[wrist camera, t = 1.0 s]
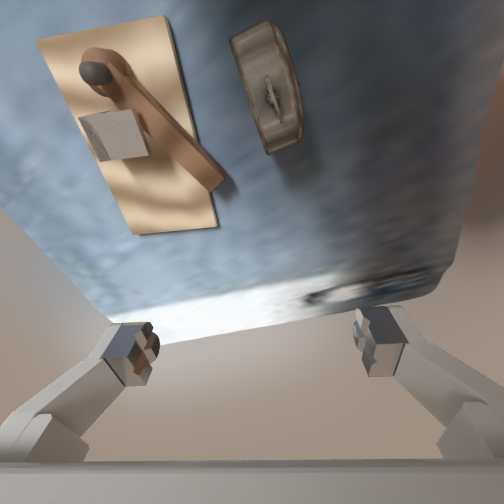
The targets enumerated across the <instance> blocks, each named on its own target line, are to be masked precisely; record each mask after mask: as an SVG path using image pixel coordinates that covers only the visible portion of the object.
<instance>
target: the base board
mask: <svg viewBox="0 0 504 504" xmlns="http://www.w3.org/2000/svg"><path fill="white" fill-rule="evenodd" d="M35 41H36V43H37V45H38V47H39V49H40V51H41V53H42V55H43V57H44V59H45V61H46V63H47V65H48V67H49V69H50V71H51V72H52V74H53V76H54V78H55V80H56V82H57V84H58V86H59V88H60V90H61V92H62V94H63V96H64V98H65V100H66V102H67V104H68V106H69V108H70V110H71V112H72V114H73V116H74V118H75V120H76V122H77V124H78V126H79V128H80V130H81V132H82V134H83V136H84V138H85V140H86V142H87V144H88V146H89V148H90V150H91V152H92V154H93V156H94V158H95V160H96V162H97V164H98V166H99V168H100V170H101V172H102V174H103V176H104V178H105V180H106V182H107V184H108V186H109V188H110V189H111V191H112V193H113V195H114V197H115V199H116V201H117V203H118V205H119V207H120V209H121V211H122V213H123V215H124V217H125V219H126V221H127V223H128V225H129V227H130V229H131V231H132V233H133V235H138V234H148V233H158V232H168V231H178V230H188V229H198V228H208V227H217V224H218V222H217V218H216V214H215V210H214V206H213V202H212V198H211V194H210V192H209V191H208V190H207V189H206V188H205V187H204V186H202V185H201V184H200V183H199V182H198V181H197V180H196V179H195V178H194V177H193V176H192V175H191V174H190V173H189V172H188V171H187V170H186V169H184V168H183V167H182V166H181V165H180V164H179V163H178V162H177V161H176V160H175V159H174V158H173V157H172V156H171V155H170V154H169V153H168V152H166V151H165V150H164V149H163V148H162V147H161V146H160V145H159V144H158V143H157V142H156V141H155V140H154V139H153V138H152V137H151V136H150V135H148V134H147V133H146V132H145V131H144V130H143V131H144V134H145V136H146V139H147V142H148V145H149V147H150V150H151V154H150V155H149V156H141V157H134V158H126V159H119V160H111V161H104V162H100V161H99V159H98V157H97V155H96V153H95V151H94V149H93V147H92V145H91V143H90V141H89V139H88V137H87V135H86V133H85V131H84V129H83V127H82V125H81V123H80V121H79V119H78V117H81V116H85V115H89V114H93V113H97V112H103V111H110V112H112V111H119V110H122V109H121V108H120V107H119V106H118V105H117V104H116V103H115V102H113V101H112V100H111V99H110V98H108V97H103V96H101V95H99V94H98V93H96V92H95V91H94V90H93V89H92V88H91V87H90V86H89V85H88V84H87V83H85V82H84V81H83V79H82V78H81V76H80V73H79V65H80V63H81V58H82V55H83V53H84V52H85V51H86V50H87V49H89V48H92V47H97V48H104V49H111V50H114V51H116V52H117V53H119V54H120V55H121V56H122V57H123V58H124V59H125V60H126V61H127V63H128V65H129V66H130V69H131V71H132V75H133V76H134V77H135V79H136V80H137V81H138V82H139V83H140V84H141V85H142V86H143V87H144V88H145V89H146V90H147V91H148V92H149V93H150V94H151V95H152V96H153V97H154V98H155V99H156V100H157V101H158V102H159V103H160V104H161V105H162V106H163V107H164V108H165V110H166V111H167V112H168V113H169V114H170V115H171V116H172V117H173V118H174V119H175V120H176V121H177V122H178V123H179V124H180V125H181V126H182V127H183V128H184V129H185V130H186V131H187V132H188V133H189V134H190V135H191V136H192V137H193V138H194V139H195V141H196V142H197V143H198V141H197V137H196V133H195V129H194V124H193V120H192V116H191V112H190V108H189V104H188V100H187V96H186V92H185V88H184V84H183V80H182V76H181V72H180V68H179V63H178V59H177V55H176V51H175V47H174V43H173V39H172V35H171V31H170V27H169V23H168V19H167V17H166V16H164V15H162V16H157V17H152V18H147V19H142V20H136V21H131V22H126V23H121V24H116V25H110V26H105V27H100V28H95V29H89V30H84V31H79V32H74V33H69V34H63V35H58V36H53V37H48V38H43V39H37V40H35Z"/></svg>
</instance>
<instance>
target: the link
mask: <svg viewBox="0 0 504 504" xmlns="http://www.w3.org/2000/svg"><path fill="white" fill-rule="evenodd" d="M79 73H80V76H81V78H82V79H83V81H84V82H85V83H87V84H88V85H89V86H90V87H91V88H92V89H93V90H94V91H95V92H96V93H98V94H99V95H101V96H103V97H108V98H110V99H111V100H112V101H113V102H115V103H116V104H117V105H118V106H119V107H120V108H121V109H122V110H125V109H132V108H135V109H136V112H137V114H138V117H139V120H140V123H141V125H142V128H143V130H144V131H145V132H146V133H147V134H148V135H150V136H151V137H152V138H153V139H154V140H155V141H156V142H157V143H158V144H159V145H160V146H161V147H162V148H163V149H164V150H165V151H166V152H168V153H169V154H170V155H171V156H172V157H173V158H174V159H175V160H176V161H177V162H178V163H179V164H180V165H181V166H182V167H183V168H184V169H186V170H187V171H188V172H189V173H190V174H191V175H192V176H193V177H194V178H195V179H196V180H197V181H198V182H199V183H200V184H201V185H202V186H204V187H205V188H206V189H207V190H208V191H209V192H211V191H212V190H213V189H214V188H216V187H217V186H218V185H219V184H220V183H221V182H222V181H223V180H224V179H225V176H226V172H225V170H224V169H223V168H222V167H221V166H220V165H219V164H218V163H217V162H216V161H215V160H214V159H213V158H212V157H211V156H210V155H209V154H208V153H207V152H206V151H205V150H204V149H203V148H202V147H201V146H200V145H199V144H198V143H197V142H196V141H195V139H194V138H193V137H192V136H191V135H190V134H189V133H188V132H187V131H186V130H185V129H184V128H183V127H182V126H181V125H180V124H179V123H178V122H177V121H176V120H175V119H174V118H173V117H172V116H171V115H170V114H169V113H168V112H167V111H166V110H165V108H164V107H163V106H162V105H161V104H160V103H159V102H158V101H157V100H156V99H155V98H154V97H153V96H152V95H151V94H150V93H149V92H148V91H147V90H146V89H145V88H144V87H143V86H142V85H141V84H140V83H139V82H138V81H137V80H136V79H135V77H134V76H133V75H132V71H131V69H130V66H129V65H128V63H127V61H126V60H125V59H124V58H123V57H122V56H121V55H120V54H119V53H117V52H116V51H114V50H111V49H104V48H97V47H92V48H89V49H87V50H86V51H85V52H84V53H83V55H82V58H81V63H80V65H79Z"/></svg>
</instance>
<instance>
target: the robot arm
mask: <svg viewBox="0 0 504 504" xmlns="http://www.w3.org/2000/svg"><path fill="white" fill-rule="evenodd" d="M355 317H356V319H357V321H356V322H355V323H354V325H353V335H354V340H355V343H356V346H357V348H358V349H359V350H360V351H361V352H363V356H362V361H363V364H364V366H365V369H366V371H367V374H368V376H369V377H373V376H374V377H376V376H377V377H384V376H394V378H395V379H396V380H397V381H398V382H399V383H400V384H401V385H402V386H403V387H404V388H405V389H406V390H407V391H408V392H409V393H410V394H411V395H412V396H413V397H414V398H415V399H417V400H418V401H419V402H420V403H421V404H422V405H423V406H424V407H425V408H426V409H427V410H428V411H429V412H430V413H431V414H432V415H434V417H436V419H438V420H439V421H440V422H441V423H442V424H443V425H444V426H445V427H446V429H445V430H444V432H443V433H442V435H441V436H440V438H439V439H438V441H437V446H438V448H439V450H440V452H441V454H442V456H443V459H333V460H332V459H331V460H330V459H328V460H327V459H326V460H211V461H210V460H207V461H100V462H99V461H94V462H93V461H91V462H83V461H84V458H85V457H86V454H87V452H88V450H89V446H88V444H87V443H86V442H84V441H83V440H82V439H81V438H80V437H81V436H82V435H83V434H84V433H85V431H86V430H87V429H88V428H89V427H90V426H91V425H92V424H93V423H94V422H95V421H96V419H97V418H98V417H99V416H100V415H101V414H102V413H103V412H104V411H105V410H106V408H107V407H108V406H109V405H110V404H111V403H112V402H113V401H114V400H115V399H116V397H117V396H118V395H119V394H120V393H121V392H122V391H123V390H124V389H125V387H128V386H143V385H146V384H147V381H148V379H149V376H150V374H151V371H152V365H151V363H152V362H153V361H154V360H155V359H156V358H157V356H158V354H159V349H160V341H159V338H158V336H157V335H156V334H155V333H153V332H152V330H153V326H152V324H151V323H150V322H133V323H113V324H111V325H110V326H109V327H108V328H107V330H106V331H105V333H104V334H103V336H102V337H101V339H100V340H99V342H98V343H97V345H96V346H95V348H94V349H93V351H92V352H91V354H90V355H89V357H88V358H87V360H82V361H81V362H80V363H78V364H77V365H76V366H74V367H73V368H71V369H70V370H69V371H67V372H66V373H65V374H63V375H62V376H61V377H59V378H58V379H57V380H55V381H54V382H53V383H51V384H50V385H49V386H47V387H46V388H44V389H43V390H42V391H40V392H39V393H38V394H36V395H35V396H34V397H32V398H31V399H30V400H28V401H27V402H26V403H24V404H23V405H22V406H21V407H19V408H18V409H17V410H15V411H14V412H12V413H11V414H10V415H9V417H8V418H7V419H6V420H5V422H4V423H3V424H2V425H1V427H0V504H504V387H502V386H501V385H499V384H497V383H496V382H494V381H493V380H491V379H489V378H488V377H486V376H485V375H483V374H481V373H480V372H478V371H477V370H475V369H473V368H472V367H470V366H468V365H467V364H465V363H464V362H462V361H461V360H459V359H457V358H456V357H454V356H452V355H451V354H449V353H448V352H446V351H445V350H443V349H441V348H440V347H438V346H437V345H435V344H433V343H427V342H426V340H425V339H424V337H423V336H422V334H421V333H420V331H419V330H418V329H417V327H416V326H415V324H414V323H413V322H412V320H411V318H410V317H409V316H408V314H407V313H406V311H405V310H404V308H403V307H402V306H400V305H395V306H379V307H366V308H357V309H356V312H355Z"/></svg>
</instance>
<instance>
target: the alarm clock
mask: <svg viewBox="0 0 504 504" xmlns="http://www.w3.org/2000/svg"><path fill="white" fill-rule="evenodd" d="M229 44H230V47H231V50H232V54H233V56H234V60H235V62H236V65H237V68H238V71H239V75H240V78H241V81H242V84H243V88H244V90H245V93H246V96H247V99H248V102H249V106H250V109H251V111H252V114H253V117H254V120H255V123H256V126H257V129H258V132H259V135H260V138H261V141H262V144H263V147H264V150H265V152H266V154H267V155H270V154H272V153H274V152H277V151H279V150H282V149H284V148H287V147H289V146H292V145H294V144H296V143H298V142H299V141H300V140H301V138H302V136H303V132H304V113H303V106H302V100H301V94H300V90H299V85H298V84H301V82H298V80H297V76H296V72H295V68H294V65H293V61H292V58H291V55H290V52H289V49H288V46H287V43H286V41H285V38H284V36H283V34H282V32H281V30H280V29H279V27H278V26H277V25H276V24H275V23H274V22H272V21H270V20H263V21H261V22H259V23H258V24H256V25H254V26H252V27H250V28H248V29H246V30H244V31H242V32H240V33H238V34H236V35H234V36H232V37H230V39H229Z"/></svg>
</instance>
